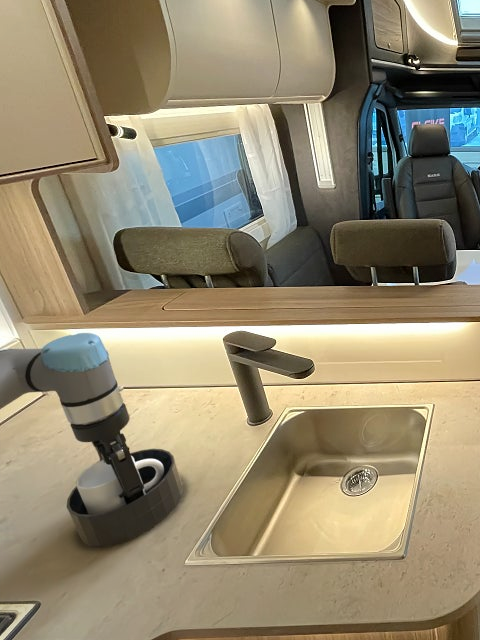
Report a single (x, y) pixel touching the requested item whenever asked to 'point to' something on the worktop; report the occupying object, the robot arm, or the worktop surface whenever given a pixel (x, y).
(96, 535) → the pot
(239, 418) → the worktop surface
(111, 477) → the mug
